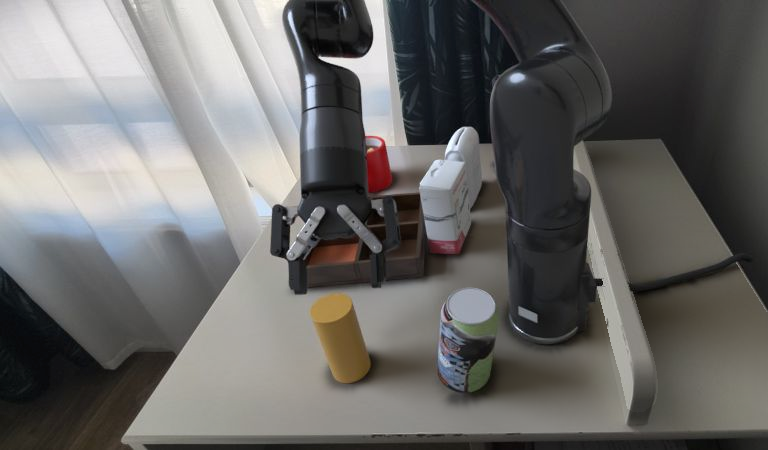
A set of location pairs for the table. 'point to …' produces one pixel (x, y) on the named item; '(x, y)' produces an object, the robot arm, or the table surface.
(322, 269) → the grid
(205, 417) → the table surface
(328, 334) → the yellow cylinder
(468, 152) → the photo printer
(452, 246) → the ink box
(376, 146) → the mug
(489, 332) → the beverage can
